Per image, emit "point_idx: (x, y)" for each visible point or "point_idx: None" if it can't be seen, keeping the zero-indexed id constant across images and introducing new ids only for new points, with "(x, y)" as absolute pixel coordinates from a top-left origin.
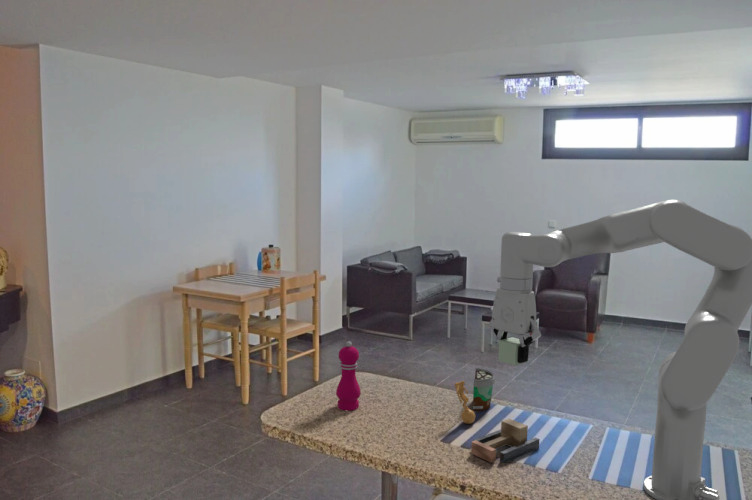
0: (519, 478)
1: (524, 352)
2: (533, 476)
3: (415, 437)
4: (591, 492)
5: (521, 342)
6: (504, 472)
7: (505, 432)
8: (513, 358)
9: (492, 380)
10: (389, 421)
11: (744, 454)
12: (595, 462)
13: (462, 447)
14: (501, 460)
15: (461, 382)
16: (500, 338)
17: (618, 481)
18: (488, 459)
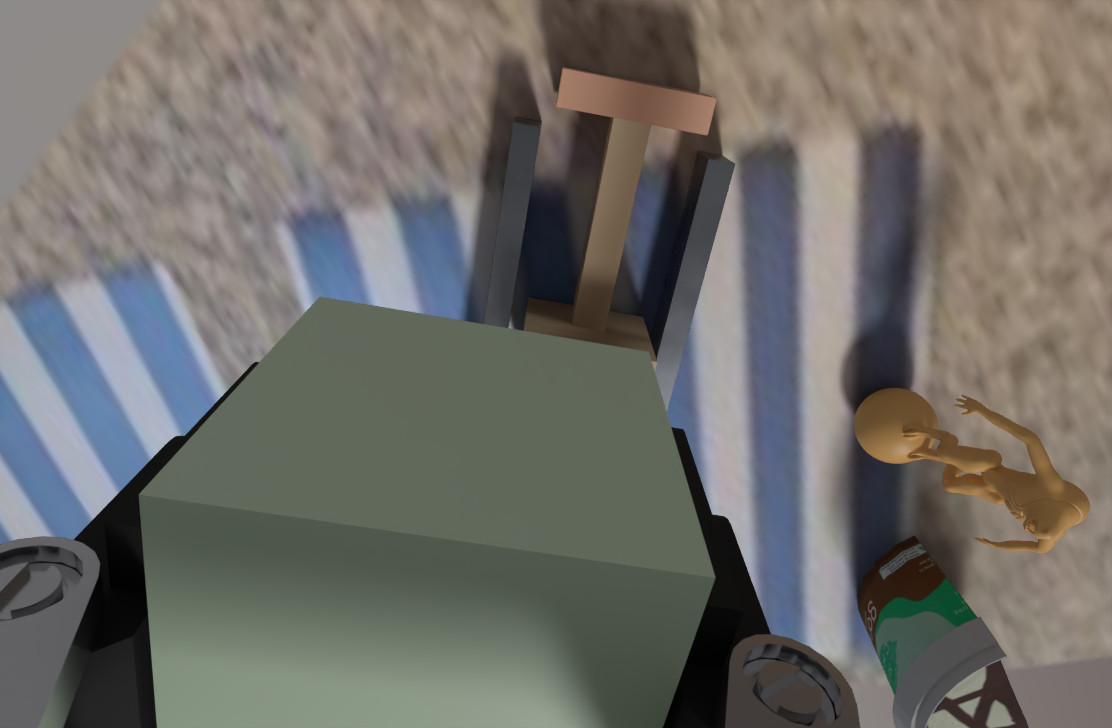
0: (371, 21)
1: (114, 503)
2: (336, 95)
3: (1065, 62)
4: (67, 139)
5: (3, 622)
6: (462, 27)
7: (620, 334)
8: (318, 342)
9: (908, 718)
10: None
11: None
12: None
13: (778, 139)
14: (530, 120)
15: (1053, 521)
16: (734, 683)
17: (66, 321)
18: (582, 70)
